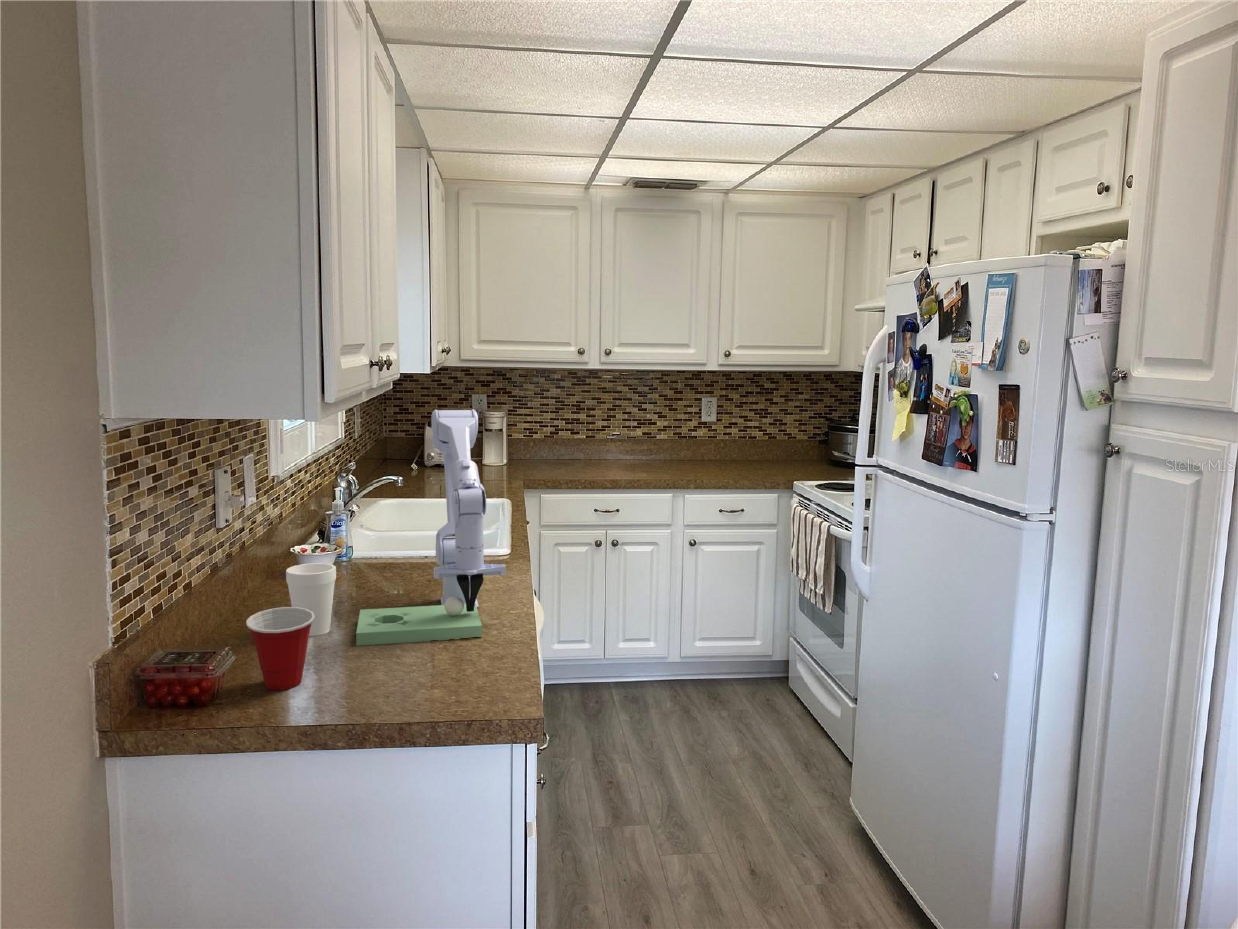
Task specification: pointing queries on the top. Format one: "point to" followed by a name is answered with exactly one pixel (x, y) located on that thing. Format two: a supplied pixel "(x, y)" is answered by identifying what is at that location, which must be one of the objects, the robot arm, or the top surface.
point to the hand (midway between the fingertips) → (470, 610)
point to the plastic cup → (281, 644)
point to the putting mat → (415, 625)
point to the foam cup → (313, 592)
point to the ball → (453, 605)
